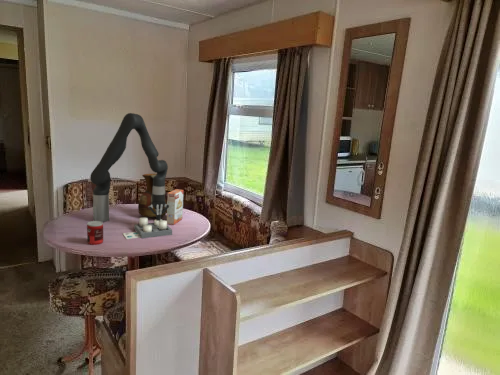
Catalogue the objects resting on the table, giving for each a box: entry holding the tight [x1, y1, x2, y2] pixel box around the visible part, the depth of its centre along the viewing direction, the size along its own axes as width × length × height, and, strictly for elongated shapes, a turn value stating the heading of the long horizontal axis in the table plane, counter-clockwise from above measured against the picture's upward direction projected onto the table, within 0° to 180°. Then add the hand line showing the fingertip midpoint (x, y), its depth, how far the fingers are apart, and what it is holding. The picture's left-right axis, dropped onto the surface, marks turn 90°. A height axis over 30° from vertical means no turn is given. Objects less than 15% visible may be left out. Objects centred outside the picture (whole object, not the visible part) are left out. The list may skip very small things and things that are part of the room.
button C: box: [143, 225, 152, 232], centre depth 206 cm, size 5×5×5 cm
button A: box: [138, 216, 149, 227], centre depth 213 cm, size 5×5×5 cm
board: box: [133, 222, 173, 239], centre depth 212 cm, size 18×17×3 cm
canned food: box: [86, 220, 104, 246], centre depth 189 cm, size 8×8×11 cm
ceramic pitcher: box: [137, 173, 167, 218], centre depth 240 cm, size 20×20×30 cm
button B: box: [153, 218, 163, 226], centre depth 218 cm, size 5×5×5 cm
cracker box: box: [166, 188, 184, 226], centre depth 233 cm, size 14×6×21 cm, turn 168°
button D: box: [159, 219, 168, 230], centre depth 210 cm, size 5×5×5 cm
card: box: [122, 231, 142, 240], centre depth 204 cm, size 9×9×1 cm
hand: (158, 220), depth 218 cm, fingers closed
